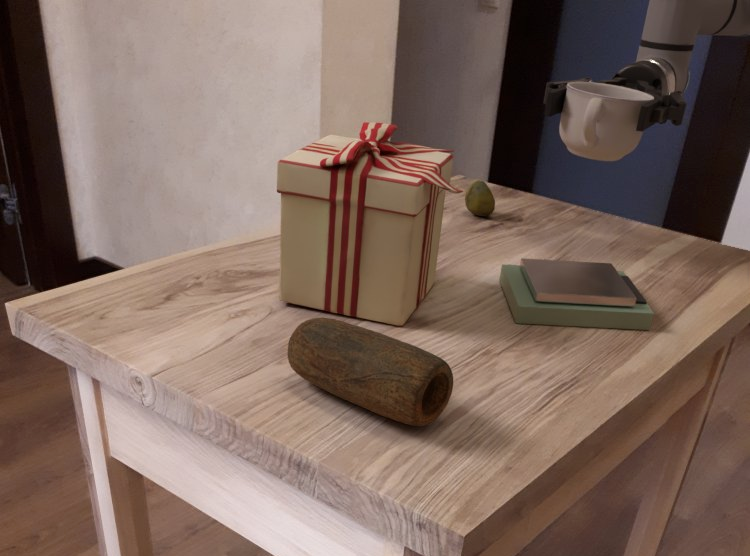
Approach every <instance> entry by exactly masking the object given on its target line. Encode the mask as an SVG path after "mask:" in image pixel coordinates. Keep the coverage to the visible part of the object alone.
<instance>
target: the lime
mask: <svg viewBox="0 0 750 556" xmlns="http://www.w3.org/2000/svg"><path fill="white" fill-rule="evenodd" d="M464 202H465V207H466V209H467V210H468V211H469V213H471V214H473V215H476V216H480V217H488V216H490V215H492V214H493V213H494V211H495V210H496V209H495V208H496V200H495V197H494V195H493V192H492V190H491V189H490V187H489V186H488V184H487V183H486V182H485V181H484V180H479V179H478V180H475V181H474V182H472V183H471V184H470V186H468V188H467V190H466V192H465V195H464Z"/></svg>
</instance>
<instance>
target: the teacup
mask: <svg viewBox="0 0 750 556" xmlns="http://www.w3.org/2000/svg"><path fill="white" fill-rule="evenodd" d="M652 100H654V97H653V96H652V95H649V94H647V93H645V92H641V91H638V90H634V89H630V88H626V87H621V86H616V85H610V84H603V83H598V82H594V81H593V82H570V83H567V91H566V96H565V100H564V104H563V109H562V112H561V115H560V119H559V120H560V121H559V136H560V139H561V140H562V142H563V144H564V145H565V146H566V149H567V151H568V152H570V153H571V154H572V155H575V156H578V157H581V158H585V159H589V160H593V161H601V162H616V161H619V160H621V159H622V158H623V157H625V156H627V155H628V154H631V153H632V152H633V151H634V150H635V149H636V148H637V147H638V145H639V143H640V141H641V139H642V136H643V134H644V131H642V132H641V131H636V127H637V123H638V119H639V114H640V110H641V106H642V105H644V104H646V103H648V102H650V101H652Z"/></svg>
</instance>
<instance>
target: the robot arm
mask: <svg viewBox="0 0 750 556" xmlns="http://www.w3.org/2000/svg"><path fill="white" fill-rule="evenodd" d="M697 36H727V37H729V36H730V37H738V38H742V37H748V36H750V0H649V1H648V5H647V11H646V16H645V20H644V25H643V29H642V34H641V39H640V44H639V46H638V51H637V55H636V60H635V61H633V62H631V63H628V64H625V65H623V66H622V67H621V68H620V69H618V70H617V71H616V73H614V75H613V76H612V78H611V79H600V80H598V81H597V83H603V84H610V85H616V86H621V87H626V88H630V89H634V90H638V91H641V92H645V93H647V94H649V95H652V96H653V97H654V100H652V101H650V102H648V103H646V104H644V105H642V106H641V110H640V114H639V119H638V123H637V127H636V131H641V132H642V131H643V132H644V131H646V130H648V129H649V128H651V127H652V126H654V125H655V124H659V125H664V124H667V121H670V123H671V125H674V126H677V127H678V126H682V124H683V121H684V117H685V113H686V109H687V106H688V102H687V101H686V100H685V98H684V97H683V96H684V94H685V92H686V90H687V88H688V87H689V83H690V79H691V71H690V66H689V65H690V61H691V57H692V54H693V51H694V47H695V43H696V39H697ZM570 82H594V81H593V80H592V78H590V77H588V76H587V77H585V78H584V77H583V78H580V79H573V80H561V81H548V82H546V86H545V91H544V97H543V104H544V105H545V109H544V117H548V118H550V117H554V116H555V115H558V114H559V115H560V114H562V109H563V104H564V100H565V96H566V91H567V83H570Z"/></svg>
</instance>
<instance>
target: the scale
mask: <svg viewBox="0 0 750 556" xmlns="http://www.w3.org/2000/svg"><path fill="white" fill-rule="evenodd" d="M617 272H618V273H619V275H620V276H621V277H622V279H623V280H624V282H625V283H626V284H627V286H628V287H629V288H630V290H631V291H632V293H633V294H634V295H635V297H636V298H637V299H636V303H635V307H628V306H609V305H591V304H572V303H554V302H536V301H535V299H534V296H533V294H532V292H531V290H530V288H529V285H528V283H527V281H526V279H525V276H524V274H523V272H522V270H521V268H520V264H519V265H517V264H501V268H500V274H499V283H500V285H501V288H502V291H503V293H504V296H505V299H506V301H507V304H508V307H509V309H510V312H511V314H512V317H513V320H514V322H515V324H522V325H523V324H525V325H543V326H561V327H563V326H564V327H578V328H579V327H580V328H582V327H583V328H600V329H619V330H620V329H621V330H636V331H650V330H651V327H652V324H653V320H654V317H655V312H654V310H653V309H652V308H651V306H650V305H649V304H648V301H647V300H646V298H645V297H644V295H642V293H641V291H640V289H638V287H637V286H636V285H635V284H634V282H633V281H632V280H631V278H630V276H629V275H627V274H626V273H625V272H624V270H617Z"/></svg>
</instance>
